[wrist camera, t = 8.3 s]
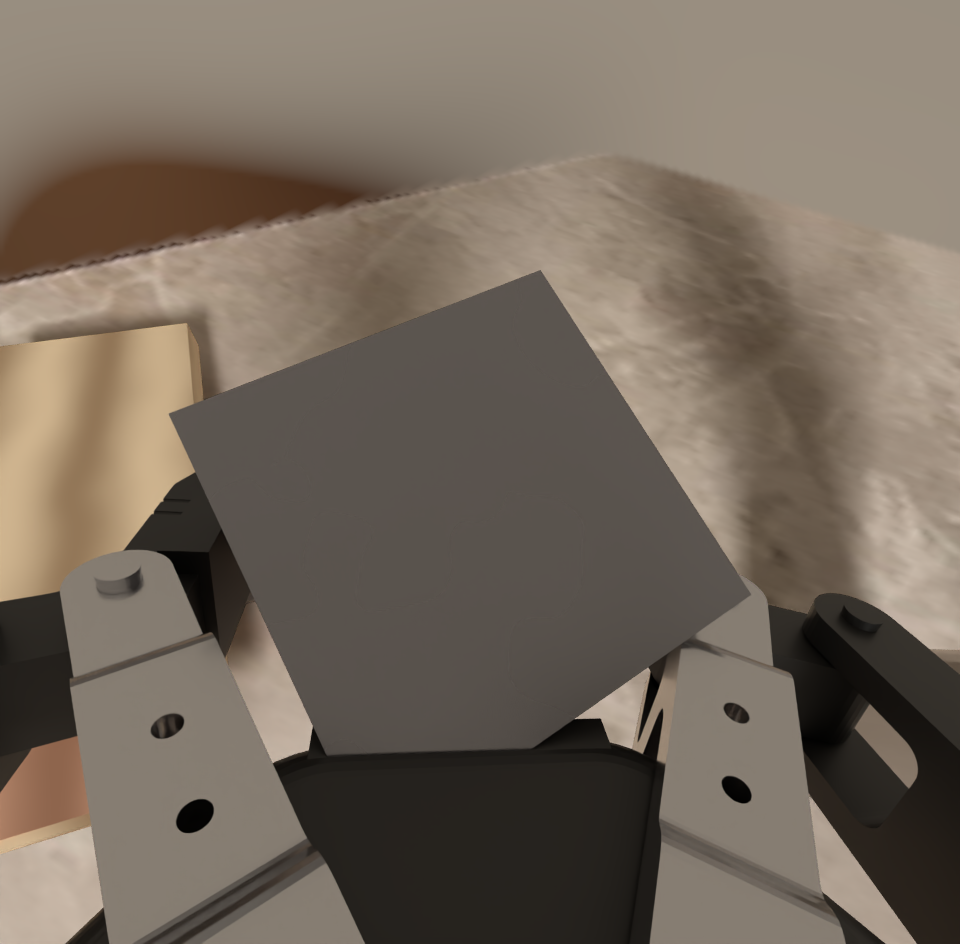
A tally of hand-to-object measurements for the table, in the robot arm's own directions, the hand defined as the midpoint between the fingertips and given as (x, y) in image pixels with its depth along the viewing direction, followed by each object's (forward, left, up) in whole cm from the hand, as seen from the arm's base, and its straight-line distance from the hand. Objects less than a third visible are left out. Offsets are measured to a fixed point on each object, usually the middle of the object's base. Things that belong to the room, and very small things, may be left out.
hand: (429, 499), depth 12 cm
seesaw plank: (+14, -5, -17) cm, 23 cm away
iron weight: (0, +2, -4) cm, 5 cm away
